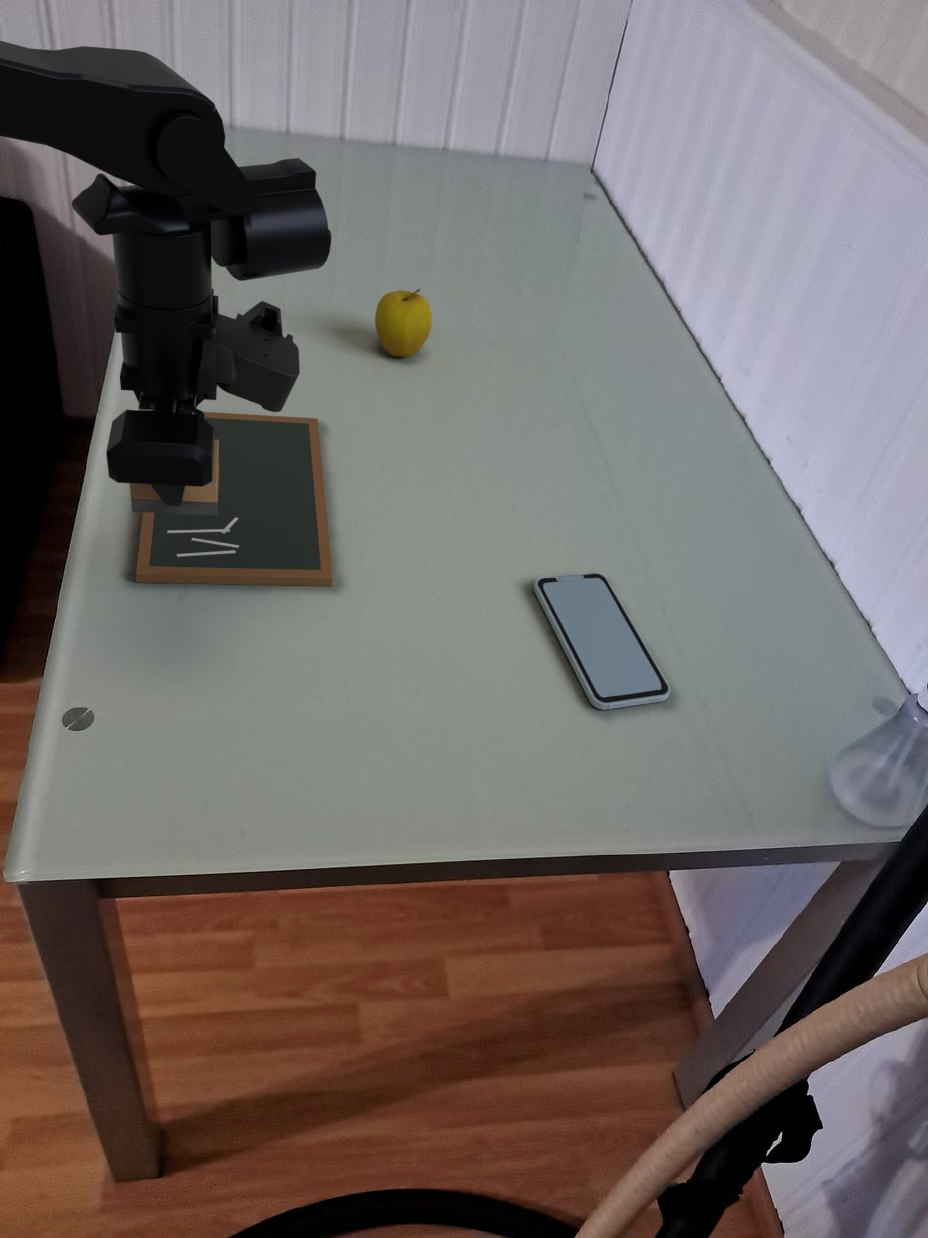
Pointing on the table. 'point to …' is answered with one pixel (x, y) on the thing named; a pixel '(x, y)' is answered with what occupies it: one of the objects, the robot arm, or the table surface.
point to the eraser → (193, 497)
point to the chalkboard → (249, 512)
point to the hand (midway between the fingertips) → (175, 485)
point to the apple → (403, 322)
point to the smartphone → (601, 641)
